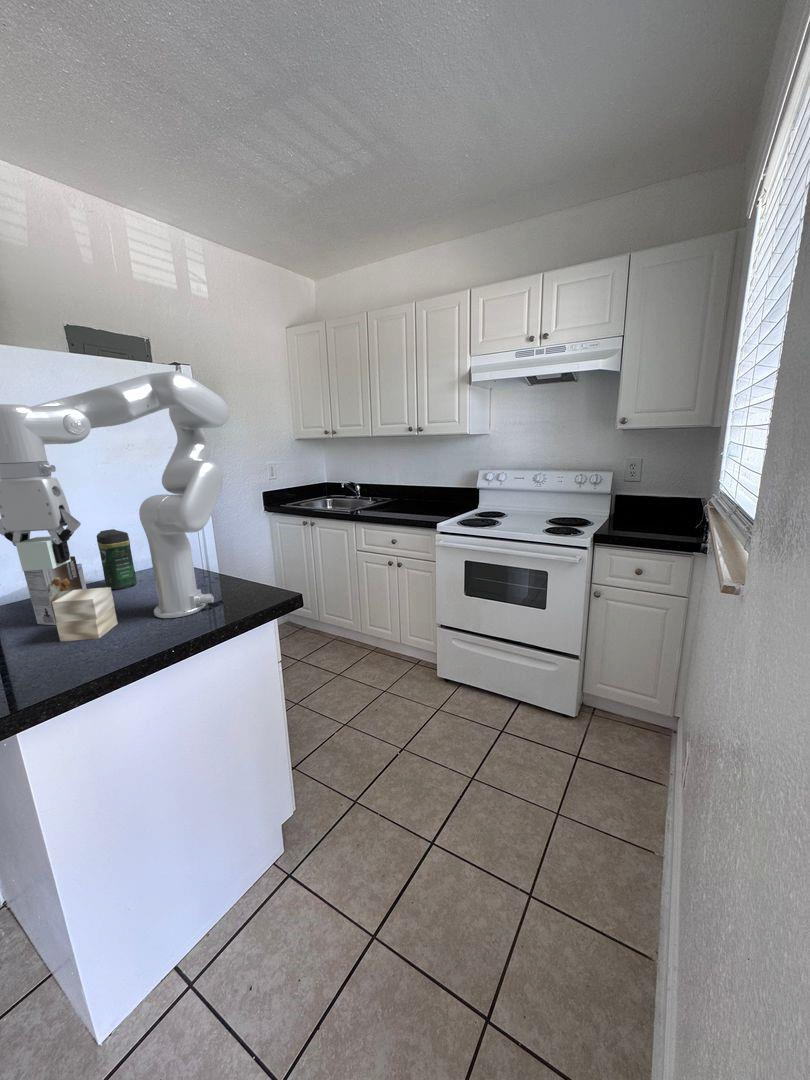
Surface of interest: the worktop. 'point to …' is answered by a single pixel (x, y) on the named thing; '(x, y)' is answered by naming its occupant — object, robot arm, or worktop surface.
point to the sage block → (37, 554)
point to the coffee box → (51, 588)
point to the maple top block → (83, 604)
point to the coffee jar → (116, 559)
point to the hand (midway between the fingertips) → (46, 561)
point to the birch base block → (87, 627)
